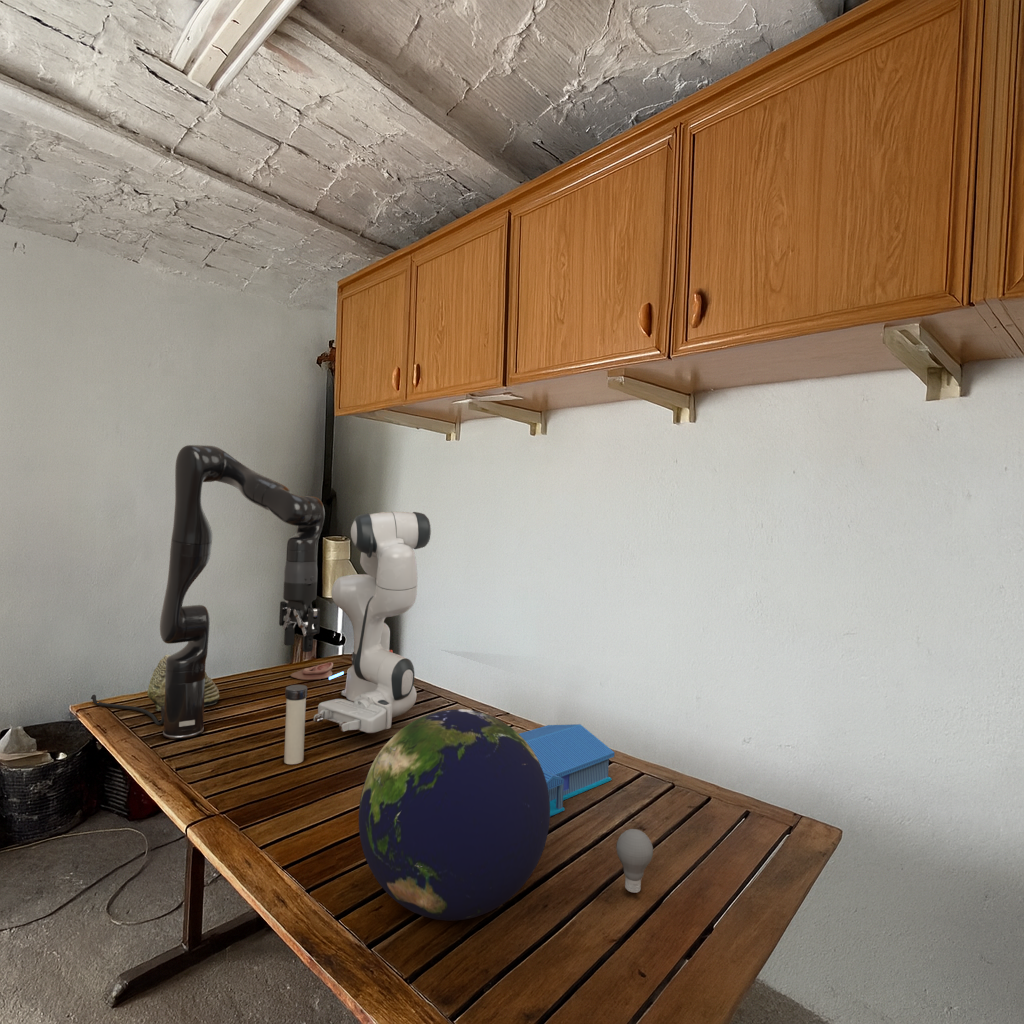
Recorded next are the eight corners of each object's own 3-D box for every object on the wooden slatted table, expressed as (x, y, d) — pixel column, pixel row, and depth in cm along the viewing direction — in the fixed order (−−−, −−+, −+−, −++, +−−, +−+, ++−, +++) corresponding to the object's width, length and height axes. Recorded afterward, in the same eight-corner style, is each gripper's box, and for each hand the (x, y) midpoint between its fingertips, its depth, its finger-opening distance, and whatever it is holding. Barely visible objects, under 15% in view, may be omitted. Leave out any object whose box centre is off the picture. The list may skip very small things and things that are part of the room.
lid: (280, 697, 150) (280, 688, 150) (296, 692, 154) (297, 683, 154) (295, 701, 148) (295, 692, 147) (311, 696, 152) (311, 687, 152)
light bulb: (610, 879, 108) (613, 822, 108) (644, 879, 109) (647, 822, 109) (619, 902, 102) (622, 840, 102) (655, 901, 103) (658, 840, 103)
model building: (493, 841, 119) (496, 788, 119) (420, 792, 137) (422, 747, 137) (623, 784, 145) (625, 741, 145) (547, 750, 164) (548, 712, 163)
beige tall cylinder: (279, 761, 150) (282, 690, 150) (294, 755, 154) (297, 685, 154) (293, 766, 148) (296, 693, 148) (307, 759, 152) (310, 688, 152)
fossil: (144, 707, 182) (145, 655, 182) (212, 696, 194) (213, 647, 194) (151, 716, 175) (153, 662, 175) (221, 703, 188) (223, 653, 188)
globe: (312, 931, 92) (320, 727, 92) (418, 834, 120) (424, 677, 120) (501, 1001, 81) (511, 769, 81) (569, 876, 109) (577, 703, 108)
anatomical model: (285, 666, 217) (303, 658, 228) (285, 677, 217) (303, 669, 228) (321, 670, 214) (337, 661, 225) (321, 681, 214) (337, 673, 225)
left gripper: (270, 577, 152) (268, 645, 152) (302, 584, 143) (299, 656, 143) (298, 575, 158) (296, 640, 158) (331, 582, 149) (328, 651, 149)
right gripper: (342, 690, 177) (301, 702, 165) (396, 705, 166) (356, 719, 154) (341, 712, 177) (300, 726, 165) (395, 729, 166) (355, 745, 154)
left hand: (298, 648), depth 151 cm, fingers open, 7 cm apart
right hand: (328, 723), depth 159 cm, fingers open, 8 cm apart
